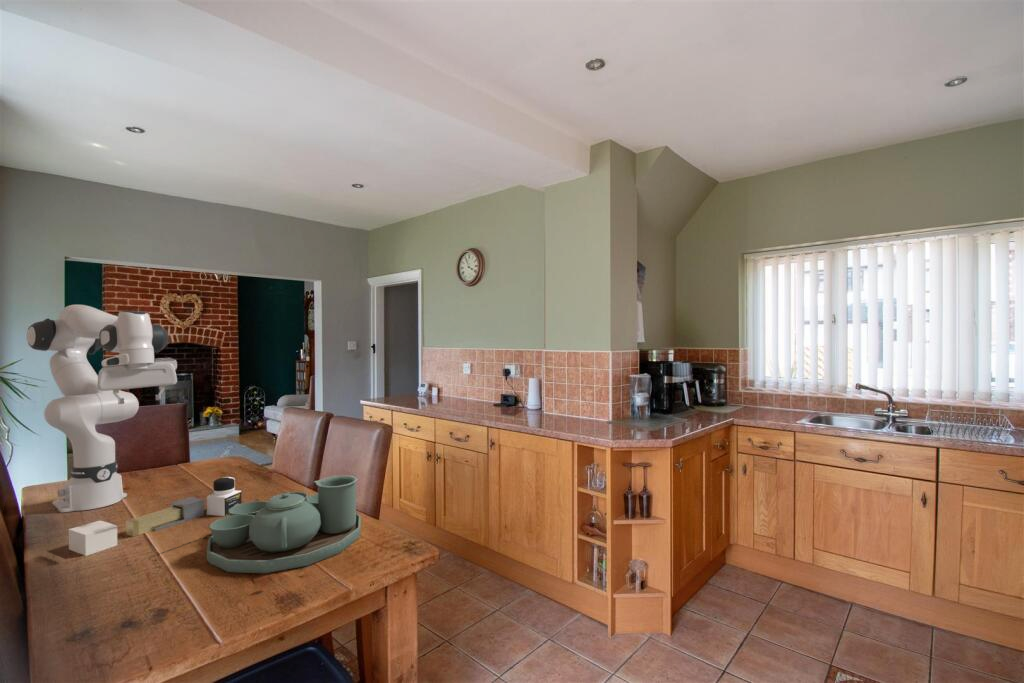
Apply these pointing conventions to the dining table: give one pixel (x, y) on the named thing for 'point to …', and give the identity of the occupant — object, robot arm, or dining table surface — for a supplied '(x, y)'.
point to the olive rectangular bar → (152, 520)
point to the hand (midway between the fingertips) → (140, 401)
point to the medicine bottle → (223, 497)
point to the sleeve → (187, 510)
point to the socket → (92, 537)
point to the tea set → (287, 529)
